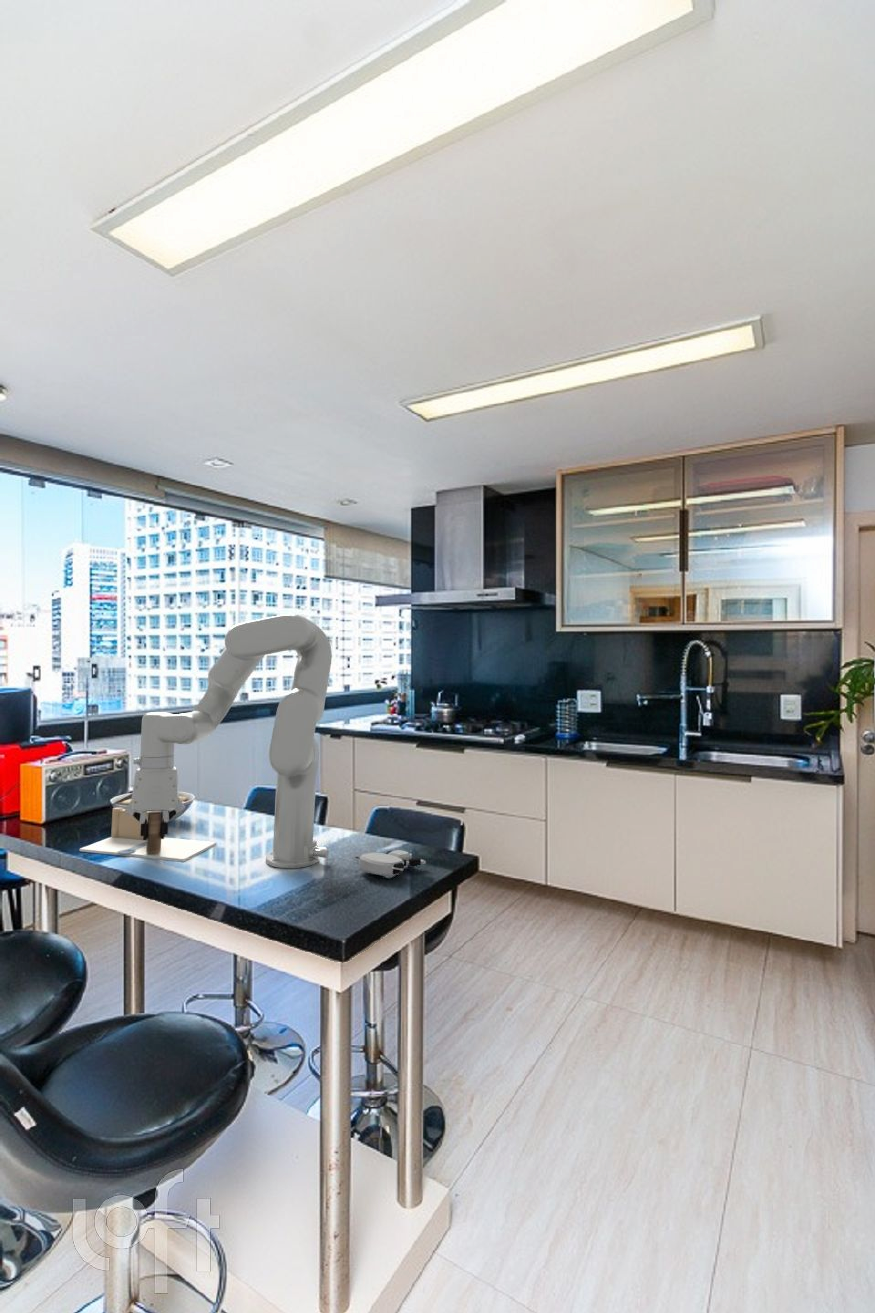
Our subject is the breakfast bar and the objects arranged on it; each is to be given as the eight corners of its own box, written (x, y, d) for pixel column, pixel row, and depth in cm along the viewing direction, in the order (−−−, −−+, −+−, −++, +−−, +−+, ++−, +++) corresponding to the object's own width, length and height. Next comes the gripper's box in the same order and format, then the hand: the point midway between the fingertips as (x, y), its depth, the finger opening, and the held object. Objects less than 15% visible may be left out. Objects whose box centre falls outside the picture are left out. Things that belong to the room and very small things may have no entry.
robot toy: (389, 863, 155) (348, 873, 142) (390, 845, 155) (350, 853, 143) (428, 874, 148) (389, 885, 135) (430, 855, 148) (391, 864, 136)
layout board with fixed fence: (216, 844, 161) (218, 812, 161) (181, 863, 145) (183, 827, 145) (119, 835, 165) (121, 804, 166) (75, 852, 150) (77, 817, 150)
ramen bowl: (173, 836, 167) (175, 806, 167) (89, 833, 166) (91, 803, 167) (207, 815, 192) (208, 788, 192) (133, 812, 191) (135, 785, 192)
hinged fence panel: (160, 853, 149) (162, 813, 149) (146, 854, 147) (148, 814, 148) (160, 839, 160) (162, 802, 160) (147, 840, 159) (149, 803, 159)
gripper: (117, 766, 144) (114, 845, 143) (192, 764, 149) (189, 840, 149) (121, 761, 151) (118, 836, 150) (193, 759, 156) (190, 832, 156)
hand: (154, 837), depth 150 cm, fingers closed on hinged fence panel, 3 cm apart
